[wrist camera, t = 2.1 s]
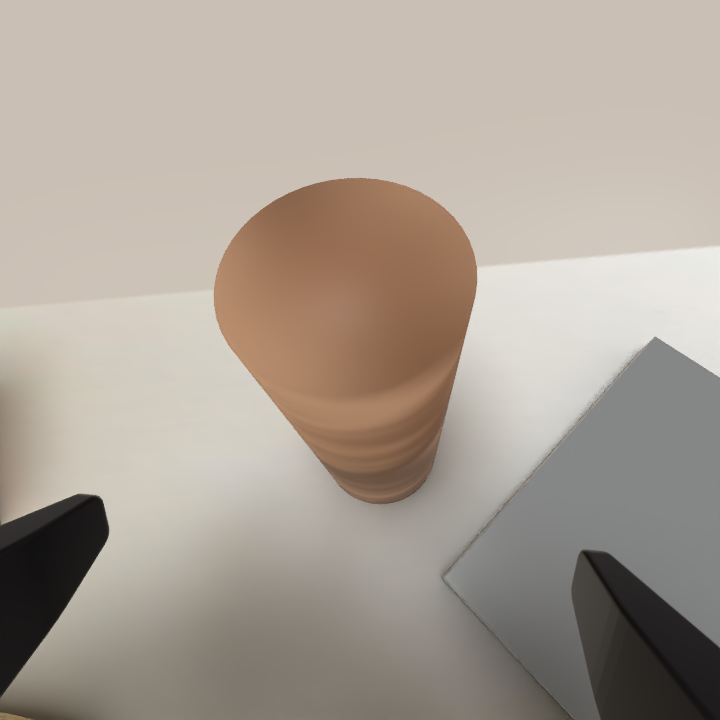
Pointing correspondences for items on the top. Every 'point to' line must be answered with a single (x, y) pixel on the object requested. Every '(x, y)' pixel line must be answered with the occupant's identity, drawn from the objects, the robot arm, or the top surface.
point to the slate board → (607, 520)
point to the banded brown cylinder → (353, 324)
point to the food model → (12, 717)
